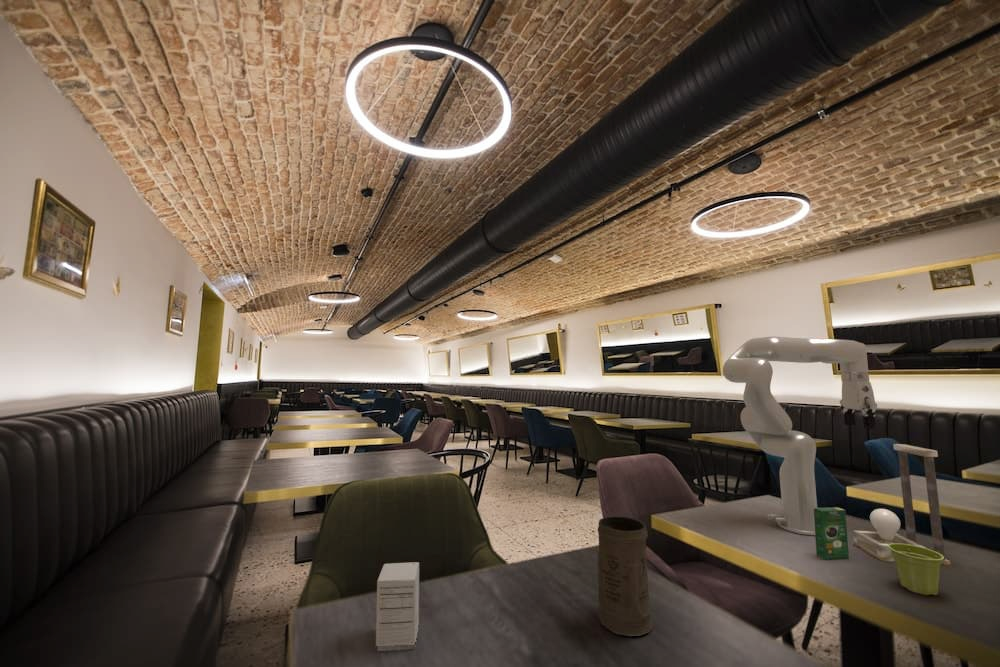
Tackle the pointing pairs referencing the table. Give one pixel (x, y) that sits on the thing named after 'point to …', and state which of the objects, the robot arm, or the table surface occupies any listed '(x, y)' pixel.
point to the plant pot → (917, 567)
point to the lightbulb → (885, 524)
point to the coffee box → (831, 533)
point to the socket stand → (908, 509)
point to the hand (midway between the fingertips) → (859, 426)
